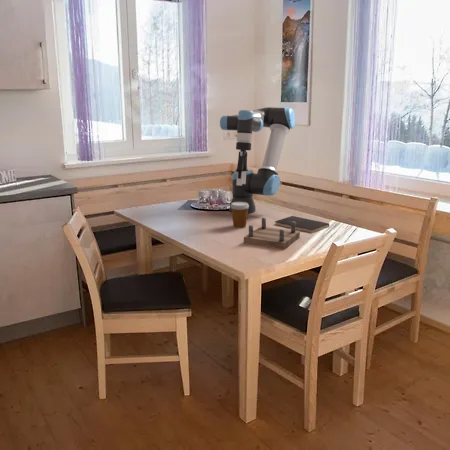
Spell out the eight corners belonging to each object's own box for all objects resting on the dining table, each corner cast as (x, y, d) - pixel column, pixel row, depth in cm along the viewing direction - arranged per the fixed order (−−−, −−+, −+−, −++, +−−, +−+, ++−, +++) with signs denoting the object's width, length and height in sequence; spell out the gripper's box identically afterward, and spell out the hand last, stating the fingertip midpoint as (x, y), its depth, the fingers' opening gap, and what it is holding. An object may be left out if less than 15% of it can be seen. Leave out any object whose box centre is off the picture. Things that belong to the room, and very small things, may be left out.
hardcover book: (311, 234, 244) (311, 229, 243) (274, 225, 259) (274, 221, 258) (329, 227, 255) (329, 223, 254) (292, 219, 270) (292, 215, 269)
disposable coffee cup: (247, 229, 250) (247, 206, 247) (228, 228, 252) (228, 205, 248) (250, 224, 259) (250, 201, 256) (232, 223, 261) (232, 201, 257)
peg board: (260, 232, 245) (261, 216, 243) (299, 237, 236) (300, 221, 234) (243, 243, 228) (243, 226, 226) (284, 249, 219) (285, 232, 217)
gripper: (239, 142, 260) (237, 182, 263) (232, 140, 236) (229, 185, 239) (254, 143, 259) (251, 183, 262) (248, 141, 235) (245, 186, 238)
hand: (241, 184), depth 250 cm, fingers open, 13 cm apart
